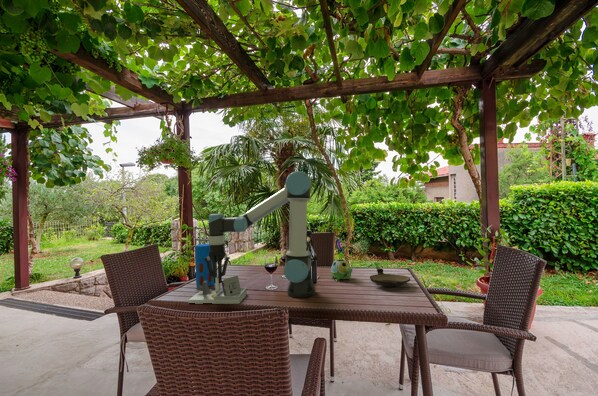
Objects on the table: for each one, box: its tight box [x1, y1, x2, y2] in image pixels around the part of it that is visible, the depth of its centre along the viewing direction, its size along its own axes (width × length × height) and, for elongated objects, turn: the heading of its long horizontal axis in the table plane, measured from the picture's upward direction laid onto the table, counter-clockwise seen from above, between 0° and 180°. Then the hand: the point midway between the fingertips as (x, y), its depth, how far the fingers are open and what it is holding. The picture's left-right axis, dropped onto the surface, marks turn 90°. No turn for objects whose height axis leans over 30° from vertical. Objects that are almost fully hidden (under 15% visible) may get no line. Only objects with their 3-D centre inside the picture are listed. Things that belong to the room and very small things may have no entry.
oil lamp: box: [369, 265, 411, 288], centre depth 173 cm, size 22×30×8 cm
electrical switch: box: [221, 275, 242, 296], centre depth 157 cm, size 9×5×9 cm, turn 141°
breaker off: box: [196, 285, 213, 293], centre depth 160 cm, size 1×3×8 cm
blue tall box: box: [194, 243, 215, 289], centre depth 182 cm, size 11×11×25 cm
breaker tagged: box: [202, 281, 208, 297], centre depth 154 cm, size 1×3×8 cm, turn 175°
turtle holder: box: [330, 258, 353, 282], centre depth 186 cm, size 12×18×12 cm
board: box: [188, 287, 248, 305], centre depth 156 cm, size 26×15×4 cm, turn 85°
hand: (218, 289), depth 153 cm, fingers closed
